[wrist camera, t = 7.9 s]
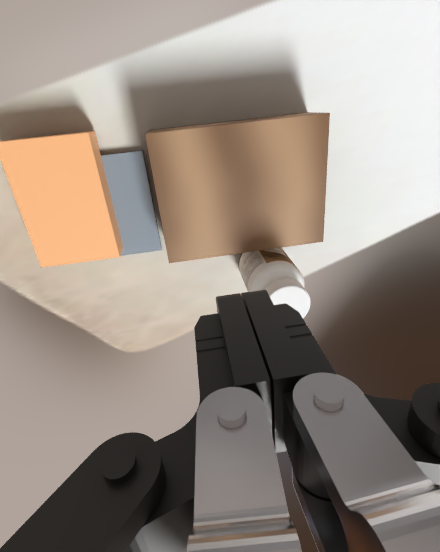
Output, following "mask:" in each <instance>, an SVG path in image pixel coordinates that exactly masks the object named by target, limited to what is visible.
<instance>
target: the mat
mask: <svg viewBox="0 0 440 552" xmlns="http://www.w3.org/2000/svg"><path fill="white" fill-rule="evenodd" d="M101 159H102V163H103V167H104V171H105V175H106V179H107V183H108V187H109V191H110V195H111V199H112V204H113V208H114V212H115V216H116V220H117V224H118V228H119V232H120V236H121V240H122V244H123V250H122V252H121V255H120V256H122V255H129V254H137V253H144V252H151V251H158V250H162V247H161V242H160V237H159V232H158V227H157V221H156V216H155V211H154V206H153V201H152V196H151V191H150V185H149V180H148V175H147V170H146V165H145V160H144V154H143V150H142V151H133V152H125V153H116V154H107V155H101Z"/></svg>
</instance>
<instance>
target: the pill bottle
mask: <svg viewBox="0 0 440 552" xmlns="http://www.w3.org/2000/svg"><path fill="white" fill-rule="evenodd" d="M239 269H240V273H241V275H242V278H243V280H244V283H245V285H246V288H247V290H248V292H252V291H259V290H267V292H268V294H269V296H270V298H271V300H272V302H273V304H274V305H278V304H285V303H286V304H288V305H289V306H291V307H292V308H294V309H295V310H297V311H298V312H299V313H300V315H301V316H302V318H304V316H305V315H306V314H307V313H308V311H309V308H310V297H309V295H308V293H307V292H306V290H305V288H304V279H303V276H302V274H301V273H300V271H299V270H298V268H297V267H296V266H295V265H294V263H293V262H292V261H291V260H290V258H289V257H288V256H287V254H286V253H285V252H284V251H283V249H282V248H274V249H266V250H259V251H252V252H245V253H243V254H242V256H241V258H240V262H239Z"/></svg>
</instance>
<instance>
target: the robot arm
mask: <svg viewBox="0 0 440 552" xmlns="http://www.w3.org/2000/svg"><path fill="white" fill-rule="evenodd" d="M216 304H217V312H218V314H211V315H205V316H201V317H200V318H199V320H198V322H197V324H196V326H195V340H196V351H197V364H198V377H199V389H200V403H199V407H198V409H197V412H196V413H195V415H194V417H193V418H192V419H191V420H190V421H189V422H188V423H187V424H186V425H185V426H184V427H182V428H181V429H180V430H178V431H176V432H174V433H172V434H170V435H168V436H166V437H164V438H162V439H160V440H158V441H156V442H154V441H153V439H151V438H150V437H148V436H147V435H144V434H141V433H125V434H121V435H117V436H115V437H112V438H111V439H109V440H107V441H105V442H104V443H103V444H101V445H100V446H99V447H98V448H97V449H95V450H94V451H93V452H92V453H91V455H90V456H89V457H88V458H87V459H86V460H85V461H84V462H83V463H82V464H81V465H80V466H79V467H78V468H77V469H76V470H75V471H74V472H73V473H72V474H71V475H70V477H69V478H67V480H66V481H65V482H64V483H63V484H62V485H61V486H60V487H59V488H58V489H57V490H56V491H55V492H54V493H53V494H52V495H51V496H50V497H49V498H48V499H47V501H45V503H43V505H42V506H41V507H40V508H39V509H38V510H37V511H36V512H35V513H34V514H33V515H32V516H31V517H30V518H29V519H28V520H27V521H26V522H25V524H23V525H22V526H21V527H20V528H19V530H18V531H17V532H16V533H15V534H14V535H13V536H12V537H11V538H10V539H9V540H8V541H7V542H6V543H5V544H4V545H3V546H2V547H1V548H0V552H302V550H301V546H300V543H299V538H298V535H297V531H296V528H295V526H294V524H293V523H292V522H291V520H290V517H289V513H288V509H287V504H286V499H285V495H284V490H283V485H282V480H281V475H280V471H279V466H278V460H277V456H276V453H278V452H284V451H287V452H288V455H289V458H290V461H291V464H292V481H293V485H294V489H295V491H296V494H297V497H298V499H299V502H300V504H301V507H302V509H303V512H304V515H305V517H306V520H307V522H308V525H309V527H310V530H311V533H312V535H313V538H314V540H315V543H316V545H317V548H318V551H319V552H440V383H430V384H425V385H423V386H421V387H419V388H418V389H416V391H415V392H414V394H413V396H412V400H411V401H408V400H398V399H388V398H379V397H373V396H369V395H366V394H363V393H362V391H361V390H360V389H359V388H358V387H357V386H356V385H355V384H354V383H353V382H351V381H350V380H348V379H346V378H344V377H342V376H339V375H337V374H336V373H335V371H334V369H333V368H332V367H331V365H330V363H329V361H328V360H327V358H326V356H325V355H324V353H323V351H322V350H321V348H320V346H319V345H318V343H317V341H316V340H315V338H314V336H312V333H311V331H310V330H309V328H308V327H307V326H306V323H305V322H304V320H303V318H302V316H301V315H300V313H299V312H298V311H297V310H295V309H294V308H292V307H291V306H289V305H288V304H286V303H285V304H278V305H274V304H273V302H272V300H271V298H270V296H269V294H268V292H267V290H259V291H252V292H245V293H241V294H240V293H239V294H232V295H225V296H218V297H216Z"/></svg>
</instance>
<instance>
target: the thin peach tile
mask: <svg viewBox="0 0 440 552" xmlns="http://www.w3.org/2000/svg"><path fill="white" fill-rule="evenodd" d="M0 160H1V163H2V165H3V168H4V171H5V173H6V176H7V178H8V181H9V184H10V186H11V189H12V192H13V194H14V197H15V200H16V202H17V205H18V207H19V210H20V213H21V215H22V218H23V221H24V223H25V226H26V228H27V231H28V234H29V236H30V239H31V242H32V244H33V247H34V249H35V252H36V255H37V257H38V260H39V263H40V265H41V267H48V266H56V265H64V264H71V263H79V262H86V261H94V260H102V259H109V258H117V257H120V255H121V252H122V250H123V244H122V240H121V236H120V232H119V228H118V224H117V220H116V216H115V212H114V208H113V204H112V199H111V195H110V191H109V187H108V183H107V179H106V175H105V171H104V167H103V163H102V159H101V154H100V150H99V146H98V142H97V138H96V134H95V131H89V132H80V133H70V134H61V135H51V136H42V137H32V138H23V139H13V140H6V141H0Z"/></svg>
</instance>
